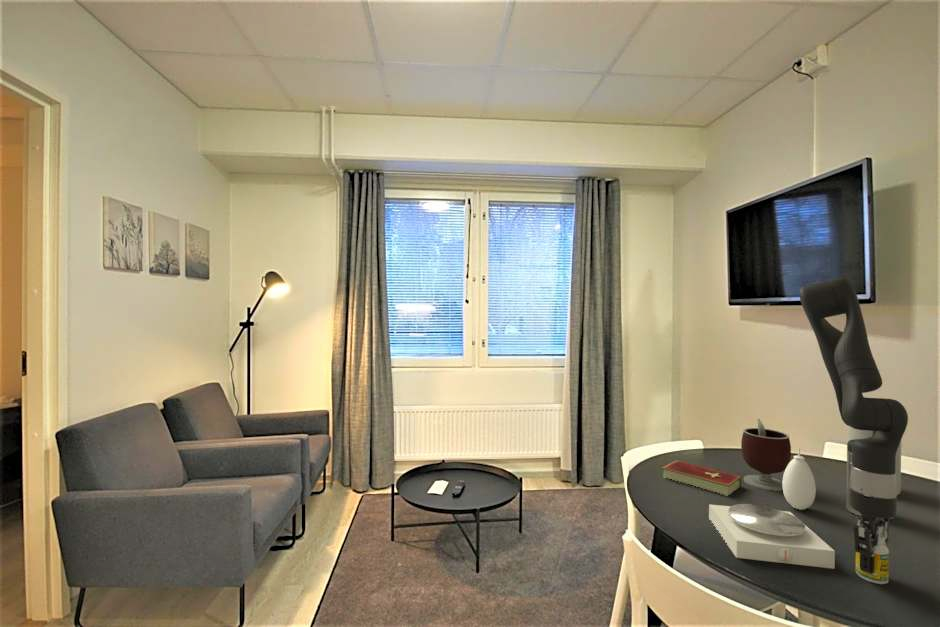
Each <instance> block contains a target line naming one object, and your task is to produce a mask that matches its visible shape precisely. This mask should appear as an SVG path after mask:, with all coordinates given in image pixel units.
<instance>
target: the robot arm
mask: <svg viewBox="0 0 940 627" xmlns="http://www.w3.org/2000/svg"><path fill="white" fill-rule="evenodd" d="M798 292H799V294H798V295H799V296H798V297H799V300H800V303H801V306H802V309H803V311H804V313H805V315H806V317H807V320H808V322H809V324H810V326H811V329H812V331H813V333H814V335H815V338H816V341H817V343H818V347H819V350H820V353H821V357H822V360H823V362H824V366H825V368H826V371H827V374H828V375H829V378H830V381H831V383H832V387H833V389H834V390H833V391H834V393H835V397H836V400H837V401H836V402H837V405H838V411H839V414H840V417H841V419H842V421H843V423H844V424H845V425H846V426H848V427H849V428H850V427H852V428H854V429H858V430H870V431H873V435H872V437H869V438H865V439H854V440H850V441H849V440H848V441H847V444H846V510H847V511H848V512H849V513H852V514H853V513H854V515H855V516H858V515H859V518H857V523H856V524H855V525H853V534H854V550H855V553H856V552H858V553H860V569H861V570H862V571H865V572H867V573H870V574H873V573H874V562H875V549H876V547H877V546H879V544H880V537H881V534H882V535H884V537H885V543H884V545H885V546H886V547H887V544H886V543H888V542H889V541H890V540H889V535H890V534H889V533H890V531H889V530H890V520H891V519H890V518H893V519H894V518H895V517H897V506H898V505H897V503H898V501H897V500H898V499H897V498H898V495H897V482H896V476H895V464H896V461H895V460H896V458H895V457H896V452H897V450H898V447H899V444H900V442H901V443H902V439H903V436H904V434H905V432H906V429H907V426H908V423H909V416H908V412H907V409H906V408H905V406H904V405H903V404H902V403H901V402H900V401H898V400H897V399H893V398H882V397H876V398H875V397H865V396H864V395H863V393H864V394H865V393H871V392H874V391H877V390H878V389H880V388H881V387H882V385H883V378H882V375H881V374H880V370H879V369H878V366H877V362H876V361H875V358H874V355H873V353H872V350H871V346H870V343H869V338H868V334H867V329H866V324H865V319H864V317H863V316H864V315H863V313H862V308H861V305H860V301H859V298H858V295H857V292H856V289H855V286H853V284H852V282H851V280H849V279H848V278H847V277H843V276H841V277H835V278H832V279H831V278H830V279H828V280H823V281H819V282H816V283H810V284H808V285H805V286H802V287H801V288H800V289H799V291H798ZM839 315H845V319H846V320H845V326H844V329H843V330H842V331H841V330H840V329H839V328H836V327H835V326H834V325H832V324H831V323H829V321H828V320H827V319H826V318H830V317H835V316H839ZM871 538H872V539H875V540H874V541H871ZM864 545H865V546H867V549H866V548H863V546H864Z"/></svg>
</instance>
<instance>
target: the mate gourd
mask: <svg viewBox="0 0 940 627" xmlns="http://www.w3.org/2000/svg"><path fill="white" fill-rule="evenodd" d="M756 421H757V427H751V428H750V427H749V428H744V429H743V433H742V436H741V445H740V447H741V454H742V458H743V461H745V463H746V464H747V465H748V467H750V468H751V469H753V470H755V471H757V472H759V475H758V474H749V475H748V474H747V475H744V477H743V482H745V484H747V485H749V486H751V487H753V488H757V489H759V490H760V489H761V490H765V491H770V490H773V491H772V492H782V491H781V490H783V487H782V481H783V480H780V479H777V478H774V477H771V476H772V474H778V473H784V472H785V469H786V467H787V466H788V464H789V463H790V461H791V457H792V446H791V440H790V435H789V434H787V433H785V432H782V431H779V430H773V429H768V428H766V427H765V426H764V424H763V422H762V421H761V420H760V418H757V419H756Z"/></svg>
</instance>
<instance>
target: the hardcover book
mask: <svg viewBox="0 0 940 627" xmlns="http://www.w3.org/2000/svg"><path fill="white" fill-rule="evenodd" d="M661 469H662V470H663V479H666V478H668V479H667V480H669V479H672V480H671V481H673V480H675V481H674V482H676V481H679V482H678V483H680V482H683V483H686V484H685V485H687V484H690V485H693V486H692V487H694V486H696V487H695V488H697V487H700V488H699V489H701V488H703V489H702V490H704V489H707V490H706V491H708V490H710V491H709V492H711V491H713V493H715V492H717V493H716V494H718V493H720V494H719V495H722V494H723V495H722V496H726V497H729V496H730V495H732V493H734V492H735V491H736V490H737V489H739V488H742V476H739V475H736V474H731V473H728V472H723V471H720V470H715V469H711V468H708V467H705V466H704V467H703V466H699V465H696V464H690V463H687V462H683V461H680V460H675V461H673V462H671V463H669V464H666V465H665V466H663V467H661ZM683 483H682V484H683ZM690 485H689V486H690ZM733 491H734V492H733ZM728 495H729V496H728Z"/></svg>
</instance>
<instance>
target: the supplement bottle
mask: <svg viewBox="0 0 940 627" xmlns="http://www.w3.org/2000/svg"><path fill="white" fill-rule="evenodd" d="M874 540H875V539H872V538H871V541H874ZM884 543H885V544H886V542H885V537H884V535H882V534H881V537H880V544H879V546H877V547H876V549H875V562H874V573H873V574H870V573H867V572H865V571H862V570H861V569H860V553H858V552H856V551H855V573H856V574H857V575H858V577H860V578H861V579H863V580H864V581H866V582H869V583H873V584H877V585H885V584H886V585H887V584H888V583H889V577H890V576H889V574H890V573H889V572H890V565H889V564H890V550H889V547H887V545H886V546H885V545H884ZM863 548H866V549H867V546H865V545H864V546H863Z"/></svg>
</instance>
